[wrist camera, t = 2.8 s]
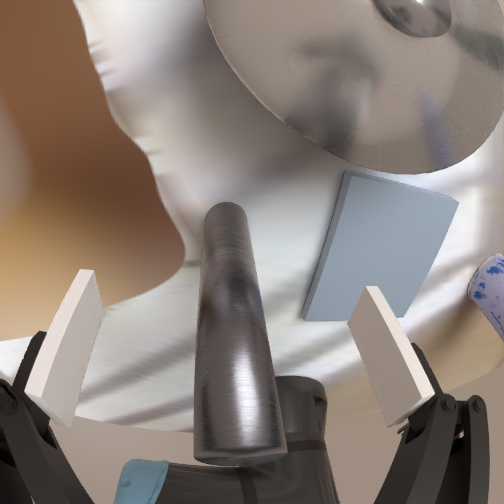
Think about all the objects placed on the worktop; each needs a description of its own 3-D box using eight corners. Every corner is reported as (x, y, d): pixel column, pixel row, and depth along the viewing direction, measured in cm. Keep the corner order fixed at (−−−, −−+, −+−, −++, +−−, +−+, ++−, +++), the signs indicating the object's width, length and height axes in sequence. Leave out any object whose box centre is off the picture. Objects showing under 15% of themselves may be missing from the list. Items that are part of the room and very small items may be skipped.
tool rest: (398, 309, 28) (403, 317, 27) (301, 312, 26) (304, 321, 25) (451, 197, 21) (458, 202, 20) (345, 170, 19) (351, 175, 18)
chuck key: (244, 240, 21) (276, 463, 8) (204, 237, 21) (195, 465, 8) (249, 204, 20) (299, 441, 7) (207, 200, 19) (191, 444, 6)
